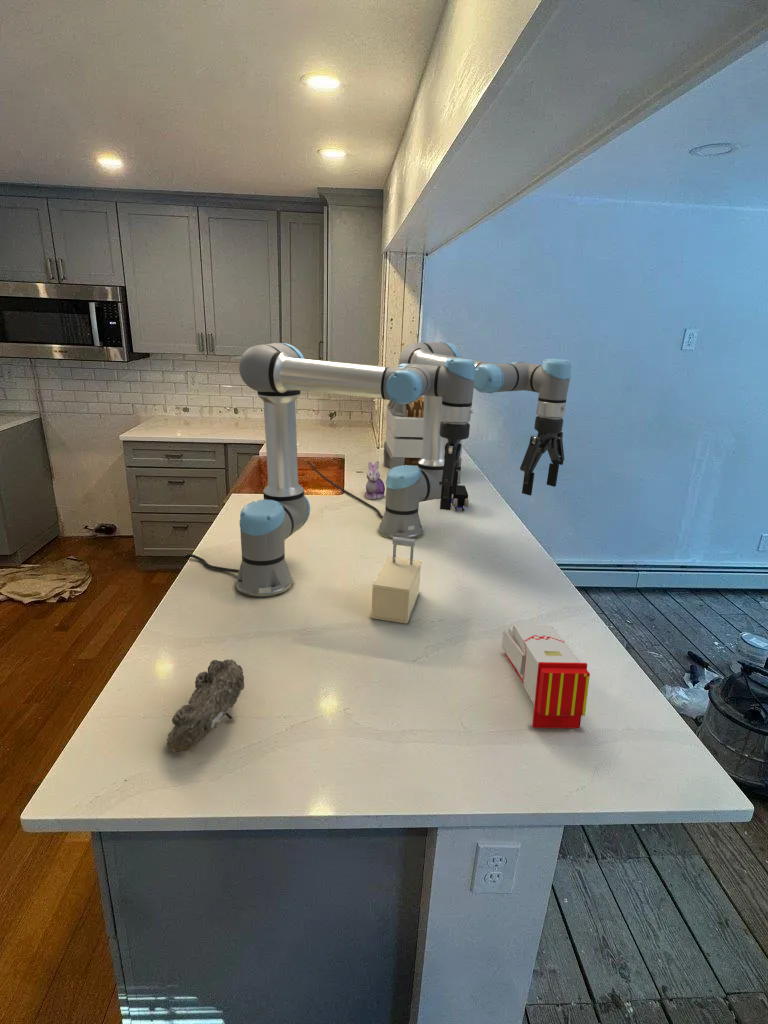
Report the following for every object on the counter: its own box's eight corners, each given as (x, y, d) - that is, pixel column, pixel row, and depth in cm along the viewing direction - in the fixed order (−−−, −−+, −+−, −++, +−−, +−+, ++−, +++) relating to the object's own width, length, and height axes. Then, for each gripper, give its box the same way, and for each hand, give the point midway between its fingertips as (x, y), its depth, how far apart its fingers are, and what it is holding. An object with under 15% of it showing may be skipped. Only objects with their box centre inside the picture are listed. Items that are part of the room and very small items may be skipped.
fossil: (192, 660, 117) (244, 628, 112) (224, 691, 120) (276, 661, 115) (142, 746, 98) (202, 712, 93) (182, 779, 101) (242, 748, 96)
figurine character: (468, 516, 224) (463, 500, 237) (471, 498, 221) (465, 483, 234) (452, 515, 224) (447, 499, 237) (453, 498, 220) (449, 482, 234)
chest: (386, 588, 161) (387, 559, 158) (418, 592, 159) (420, 564, 156) (371, 618, 145) (372, 587, 142) (407, 623, 143) (409, 592, 140)
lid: (388, 558, 159) (389, 531, 156) (421, 563, 157) (423, 536, 154) (372, 587, 142) (373, 557, 139) (409, 592, 140) (411, 562, 137)
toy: (548, 608, 134) (599, 669, 104) (543, 661, 136) (591, 735, 107) (497, 607, 133) (533, 668, 104) (493, 660, 136) (527, 734, 107)
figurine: (370, 501, 232) (371, 465, 226) (359, 493, 240) (360, 459, 235) (390, 498, 236) (392, 463, 231) (379, 491, 244) (380, 457, 239)
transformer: (382, 463, 289) (386, 382, 275) (445, 464, 293) (451, 384, 279) (390, 482, 257) (394, 392, 243) (460, 483, 261) (468, 394, 247)
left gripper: (465, 432, 131) (457, 518, 138) (473, 414, 154) (466, 489, 161) (433, 429, 133) (427, 514, 140) (446, 412, 156) (440, 486, 163)
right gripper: (538, 423, 146) (527, 501, 153) (583, 414, 163) (571, 485, 170) (513, 419, 151) (504, 494, 158) (559, 410, 168) (549, 479, 175)
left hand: (448, 501), depth 151 cm, fingers open, 13 cm apart
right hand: (539, 489), depth 164 cm, fingers open, 13 cm apart
